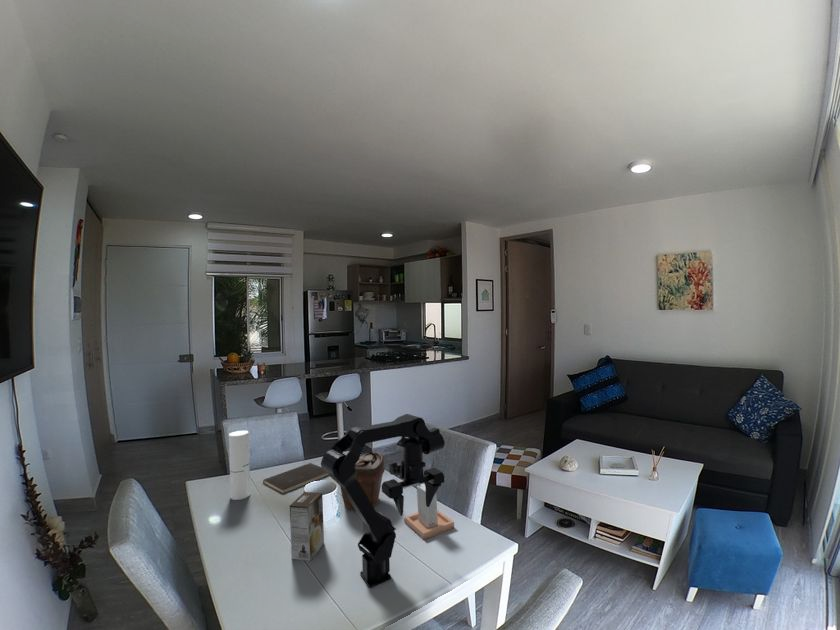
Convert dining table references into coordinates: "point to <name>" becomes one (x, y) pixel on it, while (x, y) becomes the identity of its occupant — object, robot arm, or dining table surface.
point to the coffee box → (306, 526)
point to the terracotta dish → (425, 532)
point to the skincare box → (426, 508)
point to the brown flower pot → (368, 477)
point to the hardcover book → (295, 477)
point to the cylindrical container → (239, 464)
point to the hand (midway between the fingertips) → (414, 511)
